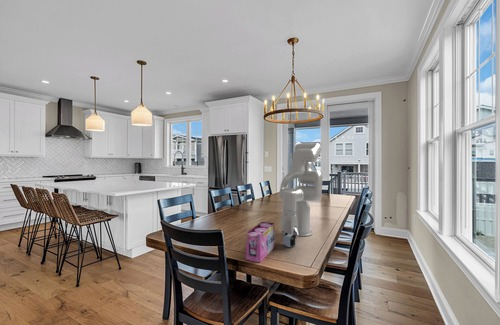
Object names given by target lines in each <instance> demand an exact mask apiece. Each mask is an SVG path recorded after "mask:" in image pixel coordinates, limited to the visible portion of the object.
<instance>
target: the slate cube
mask: <svg viewBox="0 0 500 325" xmlns="http://www.w3.org/2000/svg"><path fill="white" fill-rule="evenodd" d="M290 239H291V236H290V234H288V235H285V236H283V235H282V240H283V242H282V244H283V245H284V246H286V247H288V248H292V247H295V246H297V244H296V243H297V241H296V240H297V238H296V239H295V245H294V246H290Z"/></svg>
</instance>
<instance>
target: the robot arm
mask: <svg viewBox="0 0 500 325" xmlns="http://www.w3.org/2000/svg"><path fill="white" fill-rule="evenodd" d="M321 151H322V147H321V144H320V143H318V142H304V143H303V142H301V143H297V144H296V145H294V151H293V153H292V160H291V166H290V171H289V172H288V173H287V174H286V175H285V176H284V178H282V180H281V183H280V187H279V198H280V200H281V201H282V213H281V217H280V218H281V219H280V230H281V232H282V237H283V236H285V235H289V234H290V236H291V239H290V246H292V247H295V246H294V245H295V239H296V240H297V237H309V236H312V235H313V231H311V206H310V204H309V203H308V202H319V201H321V199H322V191H323V173H322V172H321V171H320V170H318V169H312V165H313V163H315V162H316V161H317V160H318V158H319V156H320V155H321ZM296 179H297V181H298V183H299V184H301V185H297V186H295V187H293V188H292V187H288V185H289V183H290V182H292V181H293V180H296ZM302 184H303V185H302ZM312 185H313V186H312Z"/></svg>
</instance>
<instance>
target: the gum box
mask: <svg viewBox="0 0 500 325" xmlns="http://www.w3.org/2000/svg"><path fill="white" fill-rule="evenodd" d="M245 237H246V239H245V240H246V241H245V242H246V243H245V260H246V261H251V262H255V263H261V262H262V261H263V260H264V259H265V258H266V257H267V256H268V255H269V254H270V253H271V251H273V249H274V248H275V223H274V222H269V221H268V222H267V221H260V223H258V224H257V225H255V226H254V227H252V228H251V229H249V230H248V231H246V236H245Z"/></svg>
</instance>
